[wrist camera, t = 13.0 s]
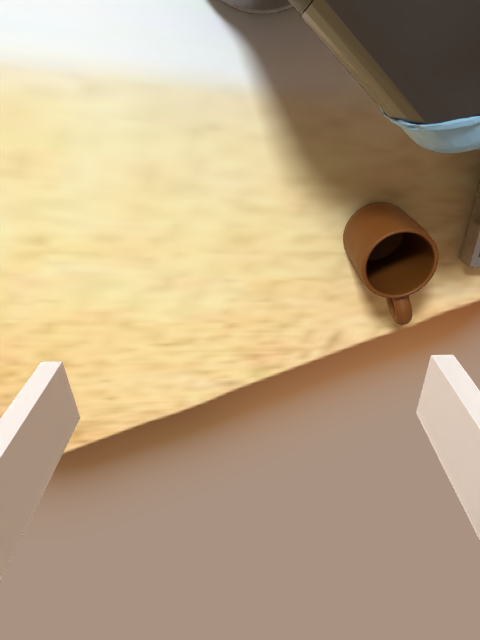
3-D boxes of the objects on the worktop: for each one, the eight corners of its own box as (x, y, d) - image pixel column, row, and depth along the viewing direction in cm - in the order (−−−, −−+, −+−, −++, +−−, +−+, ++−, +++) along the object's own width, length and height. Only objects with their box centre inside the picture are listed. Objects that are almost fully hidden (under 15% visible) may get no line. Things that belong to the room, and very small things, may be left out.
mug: (414, 284, 51) (445, 324, 43) (353, 300, 52) (373, 341, 44) (403, 191, 45) (437, 217, 37) (335, 212, 46) (354, 241, 38)
